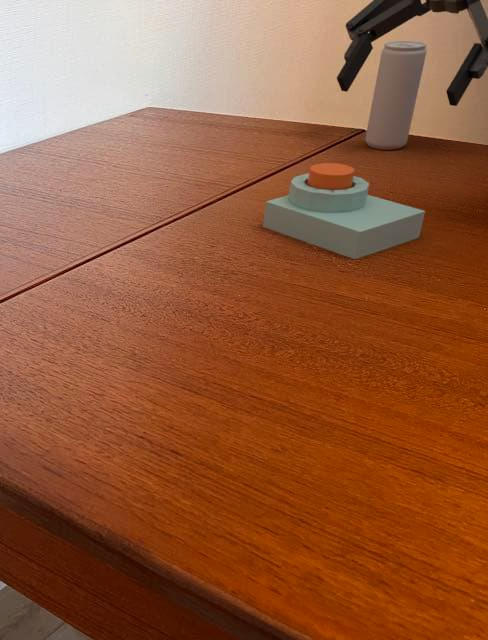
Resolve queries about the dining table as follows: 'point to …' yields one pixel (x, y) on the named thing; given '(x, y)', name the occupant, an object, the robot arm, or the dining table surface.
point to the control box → (342, 218)
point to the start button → (330, 176)
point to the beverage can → (395, 94)
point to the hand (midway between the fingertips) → (393, 91)
